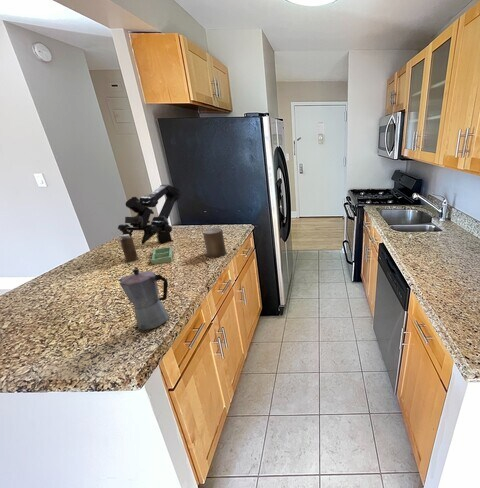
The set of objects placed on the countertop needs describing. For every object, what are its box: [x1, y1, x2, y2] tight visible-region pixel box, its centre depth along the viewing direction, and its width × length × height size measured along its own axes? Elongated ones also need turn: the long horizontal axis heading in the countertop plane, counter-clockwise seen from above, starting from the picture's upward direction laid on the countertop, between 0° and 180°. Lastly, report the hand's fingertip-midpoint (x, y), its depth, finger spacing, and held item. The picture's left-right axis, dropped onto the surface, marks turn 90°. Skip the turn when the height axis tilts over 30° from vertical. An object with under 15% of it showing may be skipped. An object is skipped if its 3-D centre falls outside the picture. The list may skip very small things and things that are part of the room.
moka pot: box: [117, 268, 169, 331], centre depth 85 cm, size 10×15×20 cm, turn 95°
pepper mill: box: [118, 234, 139, 263], centre depth 132 cm, size 5×5×14 cm
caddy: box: [150, 246, 173, 265], centre depth 137 cm, size 16×8×3 cm, turn 28°
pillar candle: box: [202, 227, 227, 258], centre depth 139 cm, size 10×10×15 cm
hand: (133, 243), depth 135 cm, fingers open, 9 cm apart
